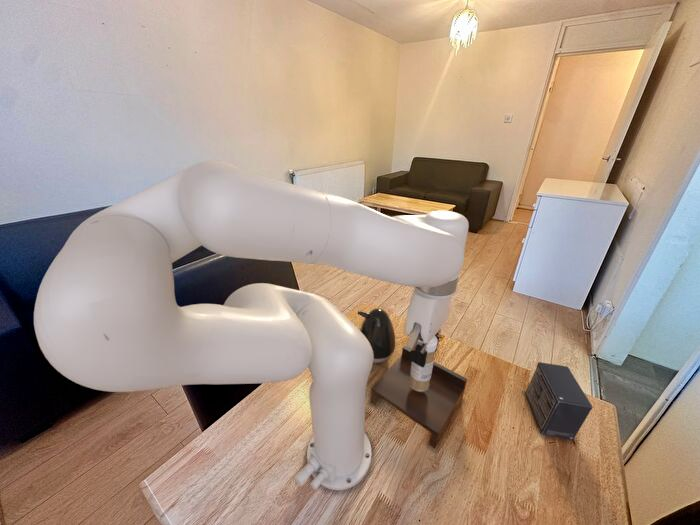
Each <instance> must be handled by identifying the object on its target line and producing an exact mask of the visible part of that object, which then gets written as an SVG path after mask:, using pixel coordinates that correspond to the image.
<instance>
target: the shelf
mask: <svg viewBox="0 0 700 525" xmlns="http://www.w3.org/2000/svg"><path fill="white" fill-rule="evenodd" d="M410 352H411V350H410V349H409V348H407V345H404V346H403V347H402V348H401V355H400V356H399V358H398V359H396V360H395V362H394V363H393V364H392V365H391V366H390V367H389V368H388V369H387V370H386V372H385V373H384V374H383V375H382V376H381V377H380V378H379V379H378V380H377V381H376V382H375V383H374V385H373V386H372V387H370V388H371V392H370V404H372V405H373V406H374V407H376V405H377V404H378V403H379V401H381V400H383V401H384V402H386V403H387V404H388V405H389V406H392V407H393V408H394V409H396V410H397V411H398V412H400V413H402V414H403V415H404V416H406V417H408V419H410V420H412V421H413V422H415V423H416V424H417V425H419V426H420V427H422V428H423V429H424V430H426V431H428V432H429V433H431V437H430V440H429V441H430V442H429V446H430V447H432V449H434V450H436V448H437V447H438V444H440V441H441V439H442V437H443V436H444V434H445V432H446V430H447V429H448V427H449V425H450V423H451V421H452V420H453V418H454V416H455V415H456V412H457V411H458V409H459V407H460V405H461V404H462V402H463V398H464V394H465V391H466V386H467V382H468V378H466V377H464V376H463V375H461V374H459V373H457V372H455V371H453V370H451V369H449V368H447V367H446V366H443V365H441V364H440V363H438V362H436V361H434V363H433V368H432V374H431V378H430V382H429V384H430V385H429V388H428V390H426V391H424V392H418V391H416V390H414V389H412V388H411V386H410V384H409V379H410V374H411V364H412V361H410Z"/></svg>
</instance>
